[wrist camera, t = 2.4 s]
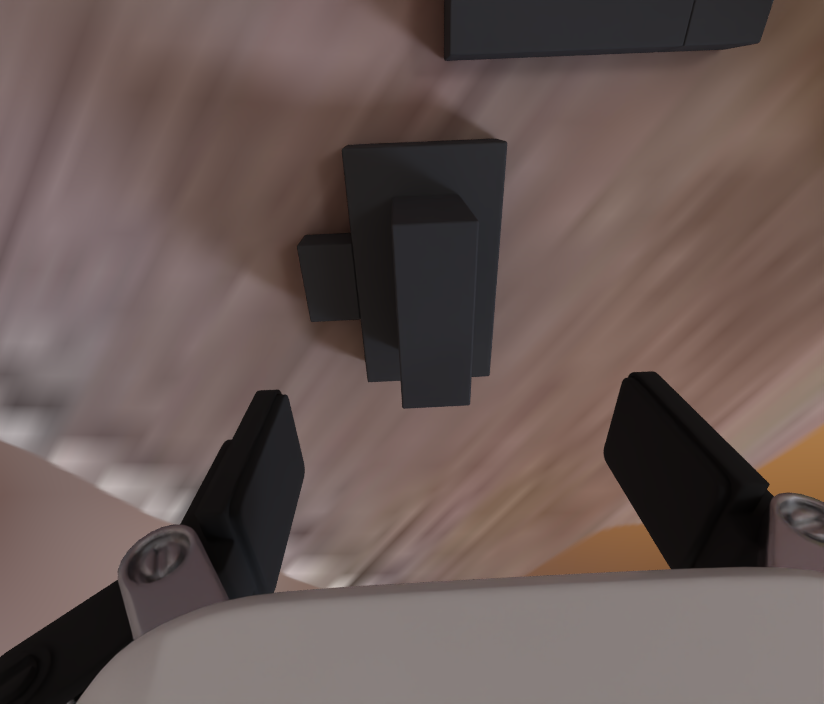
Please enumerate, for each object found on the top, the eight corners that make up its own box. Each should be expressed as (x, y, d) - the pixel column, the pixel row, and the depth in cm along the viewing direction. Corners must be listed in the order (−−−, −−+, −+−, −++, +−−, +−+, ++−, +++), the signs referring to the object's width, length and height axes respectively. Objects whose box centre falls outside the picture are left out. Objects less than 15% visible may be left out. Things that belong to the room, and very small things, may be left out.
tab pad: (289, 147, 19) (239, 165, 13) (497, 138, 19) (546, 152, 13) (327, 366, 25) (305, 448, 19) (483, 358, 25) (511, 437, 19)
